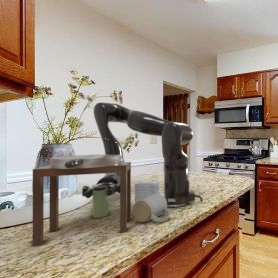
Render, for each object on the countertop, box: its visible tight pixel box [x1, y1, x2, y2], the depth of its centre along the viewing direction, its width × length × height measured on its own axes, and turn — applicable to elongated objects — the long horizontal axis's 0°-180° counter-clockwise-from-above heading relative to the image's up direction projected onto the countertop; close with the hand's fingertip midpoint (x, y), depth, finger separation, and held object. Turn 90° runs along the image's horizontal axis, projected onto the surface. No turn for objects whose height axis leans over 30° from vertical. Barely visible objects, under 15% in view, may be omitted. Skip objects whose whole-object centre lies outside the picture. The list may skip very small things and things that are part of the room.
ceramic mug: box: [132, 192, 171, 223], centre depth 68 cm, size 11×8×8 cm
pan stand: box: [32, 154, 132, 247], centre depth 56 cm, size 20×23×21 cm
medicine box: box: [134, 181, 160, 205], centre depth 84 cm, size 8×4×9 cm, turn 84°
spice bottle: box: [92, 185, 109, 219], centre depth 71 cm, size 4×4×10 cm
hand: (98, 194), depth 69 cm, fingers open, 5 cm apart
